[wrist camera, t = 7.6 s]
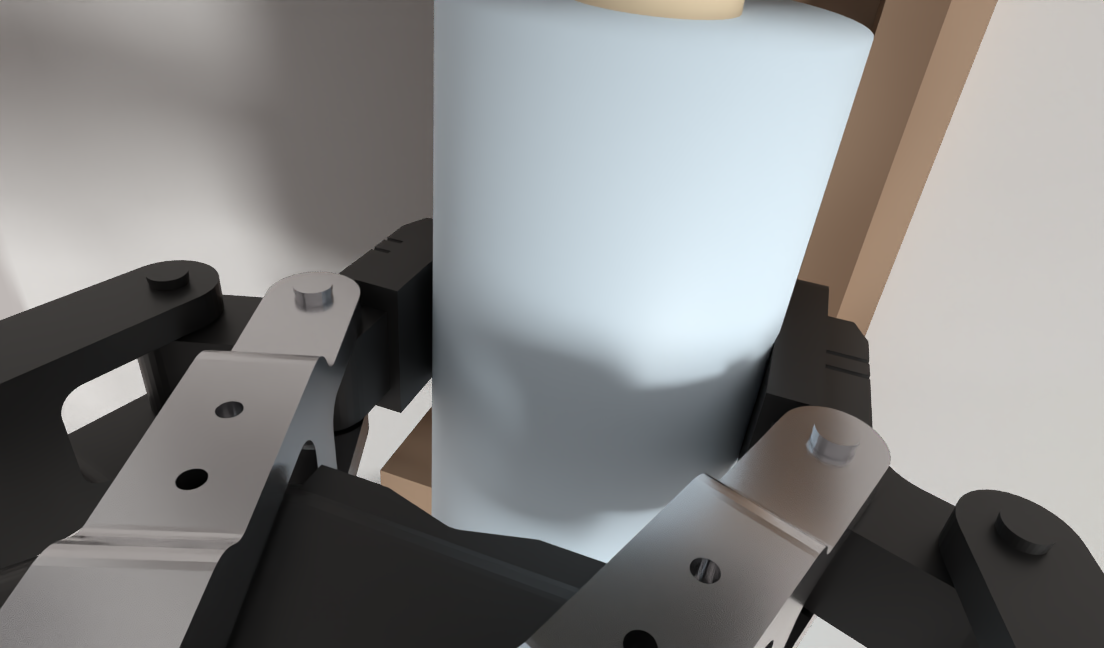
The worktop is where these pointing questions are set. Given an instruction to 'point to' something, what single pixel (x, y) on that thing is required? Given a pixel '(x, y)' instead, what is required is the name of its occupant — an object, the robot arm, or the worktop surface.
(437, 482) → the paper roll
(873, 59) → the roll cradle
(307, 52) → the worktop surface
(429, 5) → the worktop surface
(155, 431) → the robot arm
